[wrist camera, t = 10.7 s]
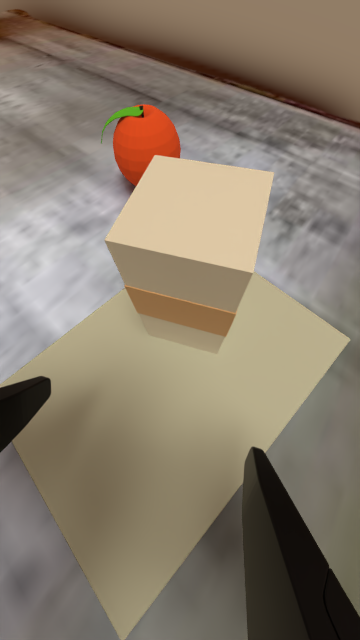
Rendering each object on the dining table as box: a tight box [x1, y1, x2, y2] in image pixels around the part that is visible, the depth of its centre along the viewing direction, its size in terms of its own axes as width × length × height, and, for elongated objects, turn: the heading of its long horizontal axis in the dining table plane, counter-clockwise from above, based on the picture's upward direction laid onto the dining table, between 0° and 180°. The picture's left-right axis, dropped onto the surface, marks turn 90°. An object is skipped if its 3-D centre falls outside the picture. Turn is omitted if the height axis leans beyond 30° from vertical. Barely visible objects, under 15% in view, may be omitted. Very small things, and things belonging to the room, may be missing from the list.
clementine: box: [101, 105, 181, 186], centre depth 23 cm, size 8×7×7 cm
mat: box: [0, 271, 350, 640], centre depth 16 cm, size 22×16×1 cm
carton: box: [105, 155, 274, 354], centre depth 13 cm, size 6×6×10 cm
